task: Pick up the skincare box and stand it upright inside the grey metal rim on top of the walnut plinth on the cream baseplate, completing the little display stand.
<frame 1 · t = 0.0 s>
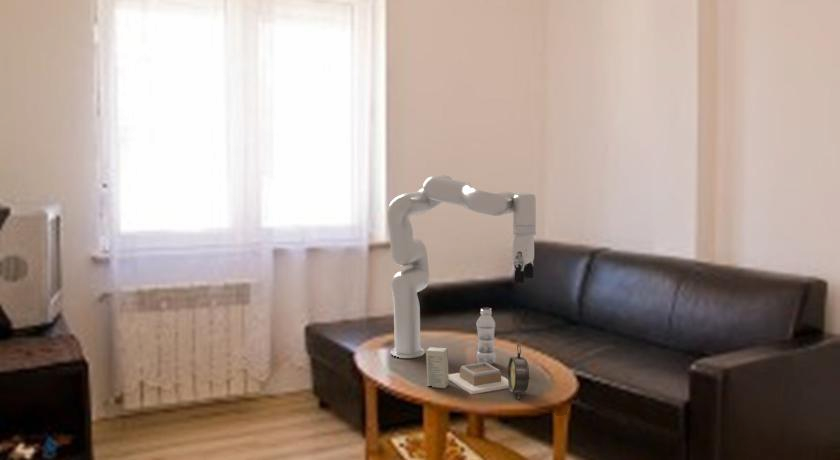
hand: (524, 280, 255), 31 cm above the table, tool pointing down, fingers open, 9 cm apart
plastic bottle: (486, 364, 265), on the table
alarm clock: (519, 395, 233), on the table
skincare box: (437, 386, 243), on the table
display base: (480, 382, 246), on the table
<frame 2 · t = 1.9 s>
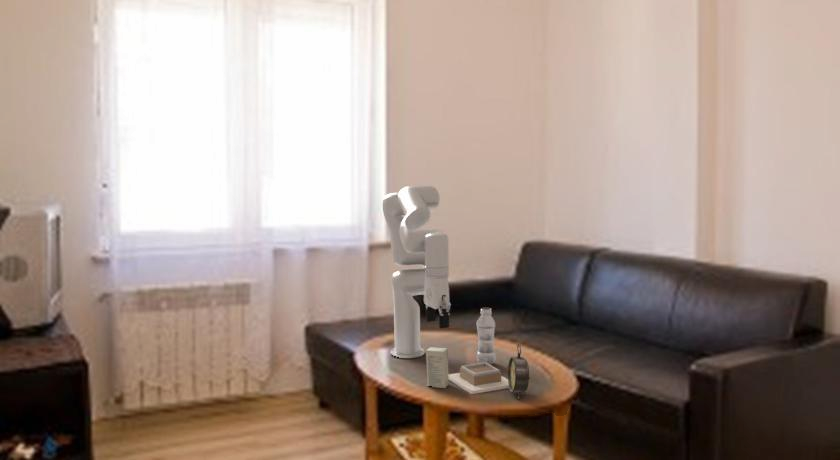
hand: (437, 324, 241), 20 cm above the table, tool pointing down, fingers open, 9 cm apart
nothing on the table moved.
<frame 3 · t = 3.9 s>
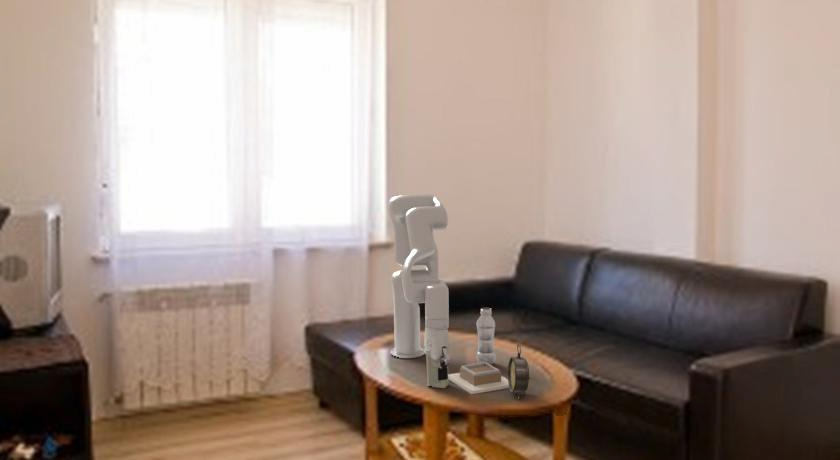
hand: (437, 375, 243), 3 cm above the table, tool pointing down, fingers closed on skincare box, 7 cm apart
skincare box: (437, 386, 243), on the table, touching gripper
everything else where it was.
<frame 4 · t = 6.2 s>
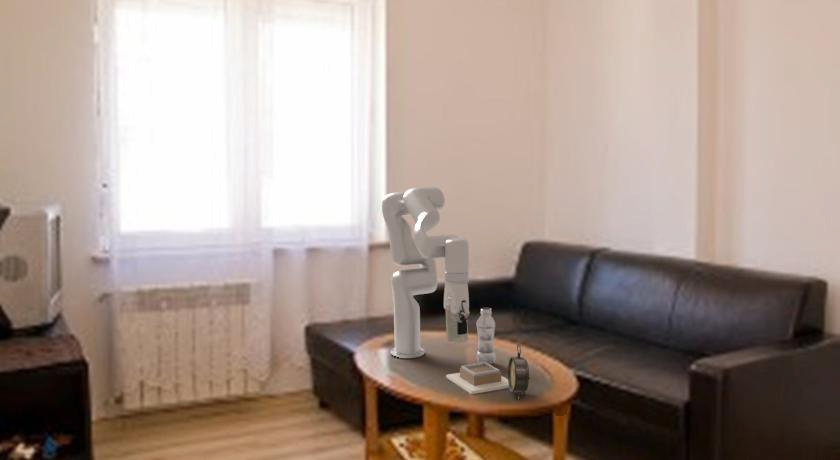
hand: (457, 330, 242), 18 cm above the table, tool pointing down, fingers closed on skincare box, 7 cm apart
skincare box: (456, 341, 243), point 14 cm above the table, touching gripper
everything else where it was.
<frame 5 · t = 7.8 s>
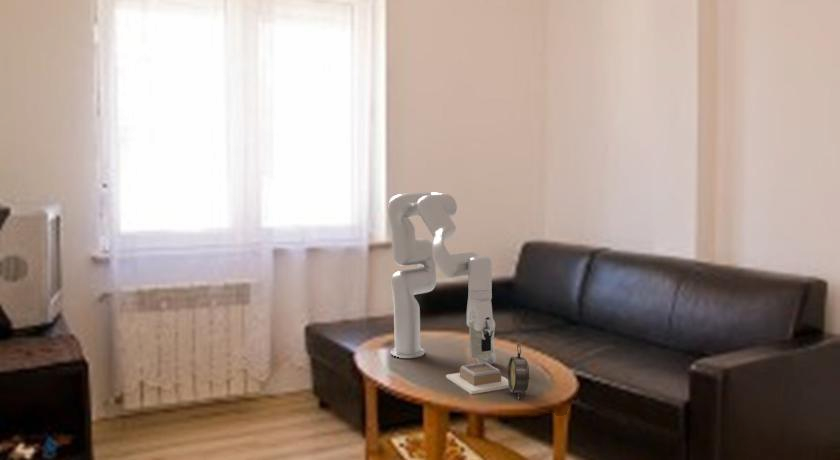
hand: (480, 347, 244), 12 cm above the table, tool pointing down, fingers closed on skincare box, 7 cm apart
skincare box: (480, 357, 245), point 8 cm above the table, touching gripper
everything else where it was.
when the fingers open (9 cm above the table, at t = 8.8 s): skincare box drops 2 cm, resting on display base.
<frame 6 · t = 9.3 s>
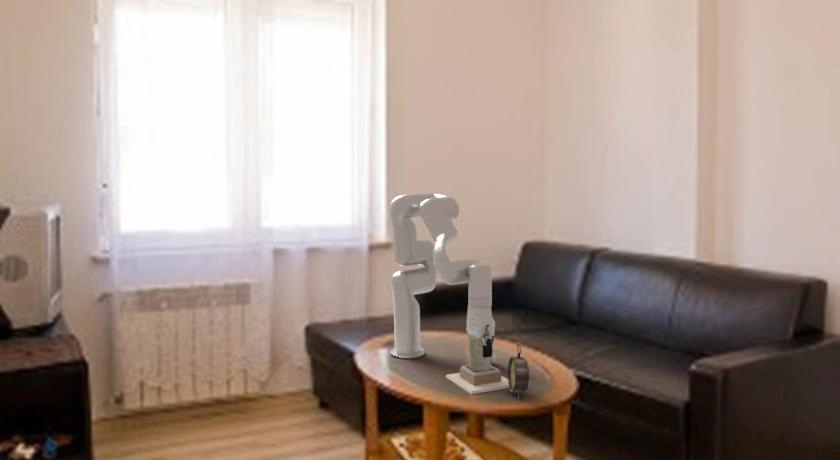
hand: (480, 353, 245), 10 cm above the table, tool pointing down, fingers open, 9 cm apart
skincare box: (479, 370, 246), point 4 cm above the table, touching display base
everything else where it was.
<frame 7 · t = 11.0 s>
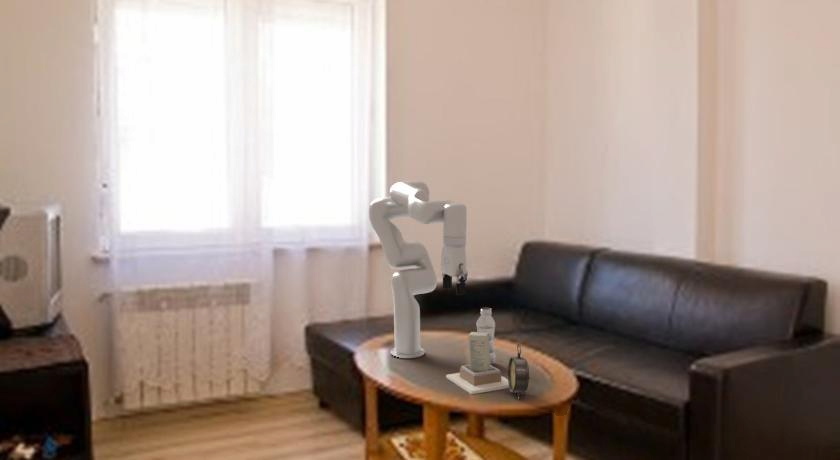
hand: (453, 291, 250), 29 cm above the table, tool pointing down, fingers open, 9 cm apart
nothing on the table moved.
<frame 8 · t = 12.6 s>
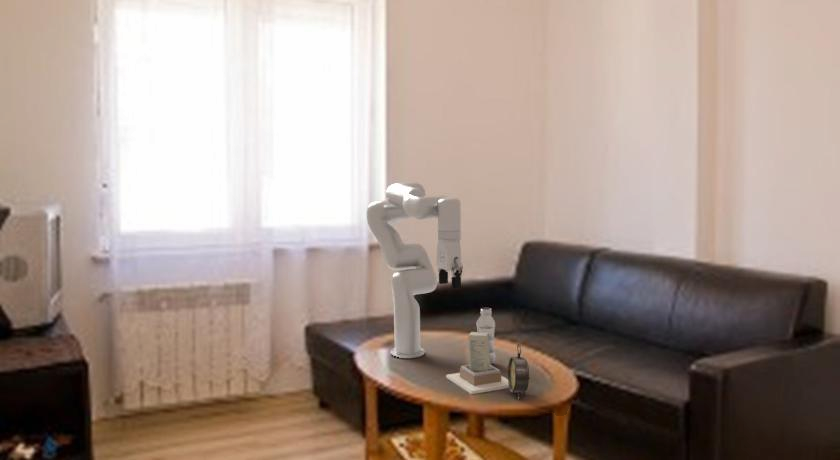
hand: (449, 286, 251), 30 cm above the table, tool pointing down, fingers open, 9 cm apart
nothing on the table moved.
at the end: skincare box 0.5 cm off-centre on the display base, point 3.8 cm above the display base's base; skincare box tilted 0°; the gripper is holding nothing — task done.
